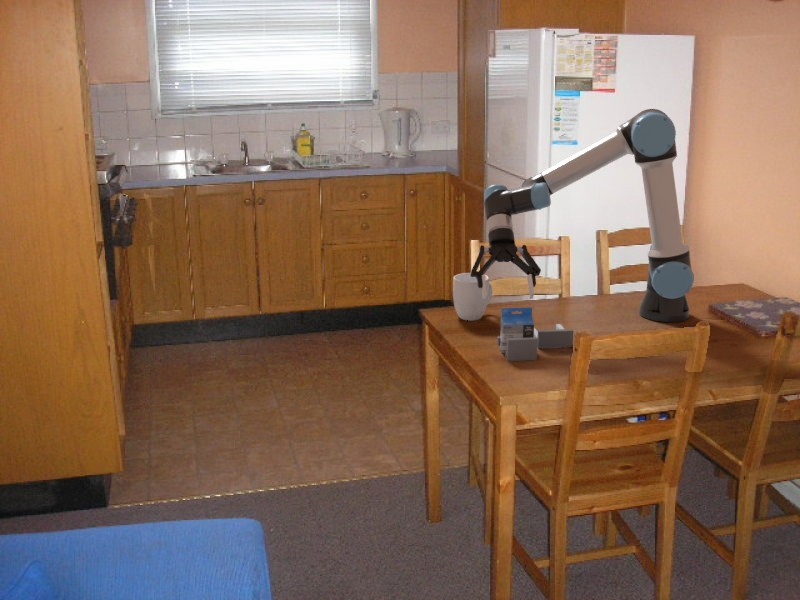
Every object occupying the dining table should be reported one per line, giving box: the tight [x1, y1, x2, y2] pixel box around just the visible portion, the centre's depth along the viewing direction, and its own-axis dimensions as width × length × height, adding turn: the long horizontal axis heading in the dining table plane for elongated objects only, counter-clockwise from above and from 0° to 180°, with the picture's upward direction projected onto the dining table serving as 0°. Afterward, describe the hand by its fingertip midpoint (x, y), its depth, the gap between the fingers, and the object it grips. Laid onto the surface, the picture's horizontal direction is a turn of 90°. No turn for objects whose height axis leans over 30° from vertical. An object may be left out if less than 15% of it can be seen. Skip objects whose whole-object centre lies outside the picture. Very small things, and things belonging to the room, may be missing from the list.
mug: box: [452, 272, 493, 322], centre depth 282 cm, size 15×11×13 cm
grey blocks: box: [496, 335, 538, 362], centre depth 252 cm, size 8×15×6 cm, turn 5°
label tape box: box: [499, 307, 535, 354], centre depth 251 cm, size 9×4×12 cm, turn 92°
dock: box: [534, 323, 574, 350], centre depth 261 cm, size 10×14×5 cm
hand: (508, 296), depth 257 cm, fingers open, 13 cm apart
